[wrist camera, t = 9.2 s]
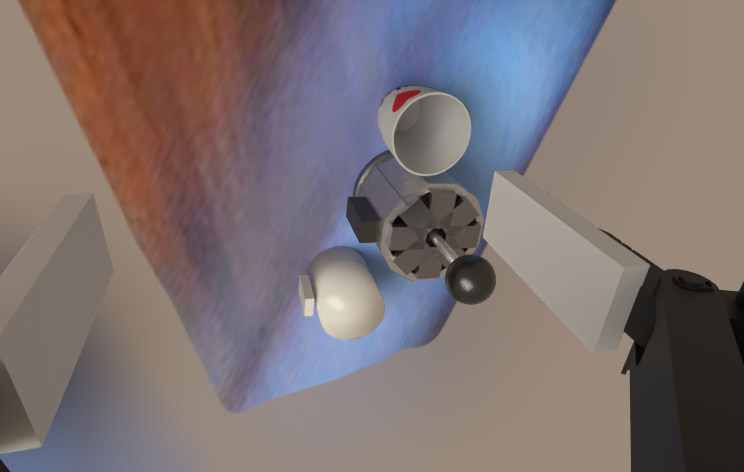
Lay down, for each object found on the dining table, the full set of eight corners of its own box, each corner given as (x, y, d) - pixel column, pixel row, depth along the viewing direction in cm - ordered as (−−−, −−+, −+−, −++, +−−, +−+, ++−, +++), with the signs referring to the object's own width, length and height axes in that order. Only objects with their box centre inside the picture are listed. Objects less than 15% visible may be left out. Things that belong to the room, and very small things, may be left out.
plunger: (374, 164, 53) (444, 250, 36) (443, 166, 55) (539, 247, 38) (366, 232, 57) (426, 338, 40) (431, 230, 59) (513, 330, 42)
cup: (432, 70, 52) (473, 87, 43) (432, 141, 56) (469, 169, 47) (362, 78, 50) (389, 98, 41) (367, 151, 54) (393, 182, 45)
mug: (297, 247, 57) (308, 288, 50) (368, 245, 60) (389, 283, 52) (295, 298, 61) (305, 343, 53) (362, 294, 63) (381, 336, 56)
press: (344, 144, 53) (371, 182, 43) (453, 148, 57) (501, 183, 47) (336, 238, 58) (358, 290, 48) (436, 235, 62) (476, 284, 52)
